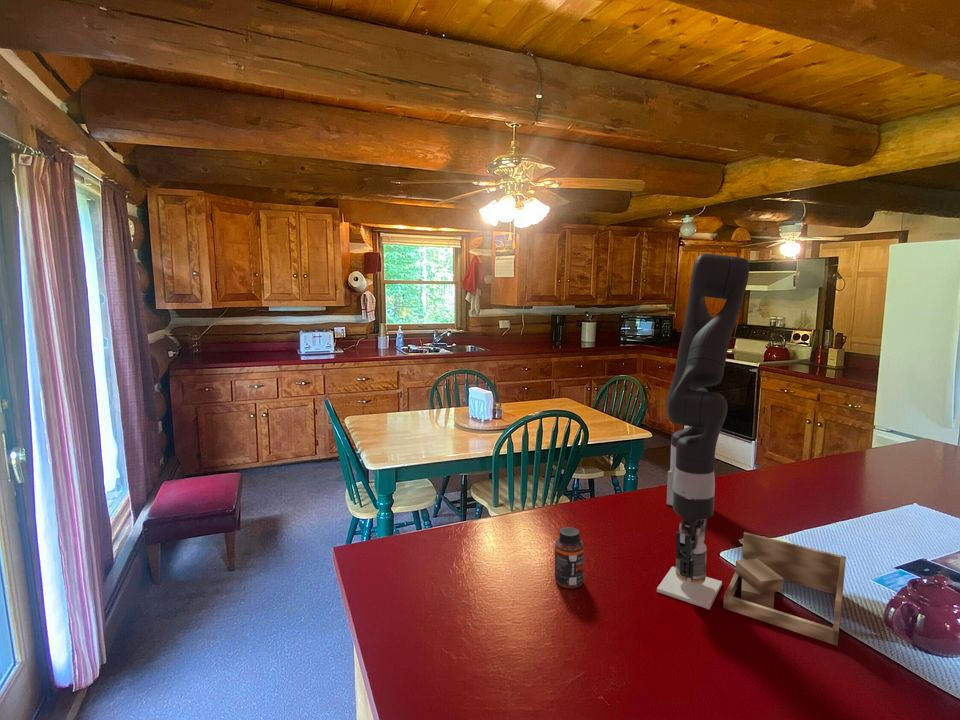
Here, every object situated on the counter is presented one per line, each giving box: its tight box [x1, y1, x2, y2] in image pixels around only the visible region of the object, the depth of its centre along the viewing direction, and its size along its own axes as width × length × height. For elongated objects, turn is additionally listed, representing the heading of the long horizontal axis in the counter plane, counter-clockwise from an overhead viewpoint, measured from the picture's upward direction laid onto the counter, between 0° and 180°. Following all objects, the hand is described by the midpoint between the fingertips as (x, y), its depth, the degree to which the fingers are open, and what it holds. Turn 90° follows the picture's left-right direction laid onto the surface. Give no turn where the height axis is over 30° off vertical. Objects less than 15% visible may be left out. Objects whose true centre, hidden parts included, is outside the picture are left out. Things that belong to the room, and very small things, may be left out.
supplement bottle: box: [554, 526, 585, 590], centre depth 108 cm, size 6×6×11 cm
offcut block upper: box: [734, 559, 785, 594], centre depth 103 cm, size 5×8×2 cm, turn 8°
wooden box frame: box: [722, 531, 847, 646], centre depth 100 cm, size 18×18×8 cm
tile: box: [656, 566, 723, 610], centre depth 106 cm, size 10×10×1 cm
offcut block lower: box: [740, 578, 775, 610], centre depth 103 cm, size 6×9×3 cm, turn 153°
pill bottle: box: [675, 532, 708, 585], centre depth 105 cm, size 6×6×10 cm
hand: (690, 568), depth 105 cm, fingers closed on pill bottle, 5 cm apart
